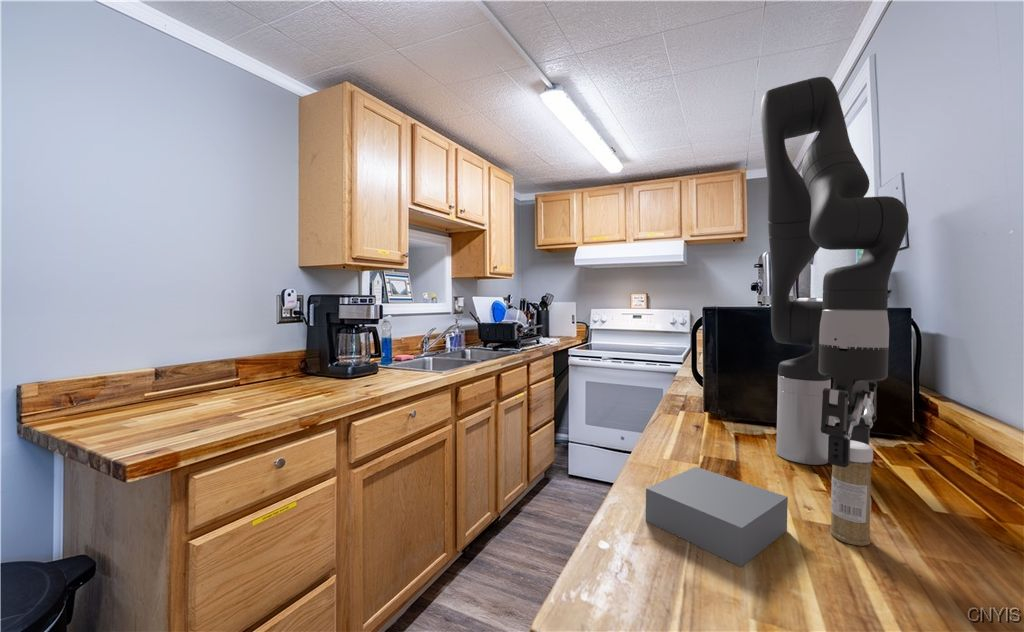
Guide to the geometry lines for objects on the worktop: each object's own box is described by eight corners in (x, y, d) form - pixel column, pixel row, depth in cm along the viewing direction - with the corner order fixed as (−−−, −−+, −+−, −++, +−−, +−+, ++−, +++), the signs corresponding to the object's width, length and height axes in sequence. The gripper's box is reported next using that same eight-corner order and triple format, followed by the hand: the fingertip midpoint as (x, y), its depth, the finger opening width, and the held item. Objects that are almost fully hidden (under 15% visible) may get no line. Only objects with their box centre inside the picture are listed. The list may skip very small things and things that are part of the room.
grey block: (695, 495, 73) (695, 466, 72) (786, 530, 61) (787, 496, 61) (645, 520, 64) (645, 488, 64) (741, 567, 53) (741, 527, 53)
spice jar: (875, 540, 59) (878, 444, 59) (863, 551, 56) (866, 451, 56) (836, 526, 63) (839, 436, 62) (823, 535, 60) (825, 441, 60)
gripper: (837, 339, 66) (834, 442, 66) (801, 342, 58) (797, 461, 58) (901, 342, 60) (898, 456, 60) (871, 347, 52) (867, 479, 52)
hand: (848, 458), depth 59 cm, fingers open, 8 cm apart
